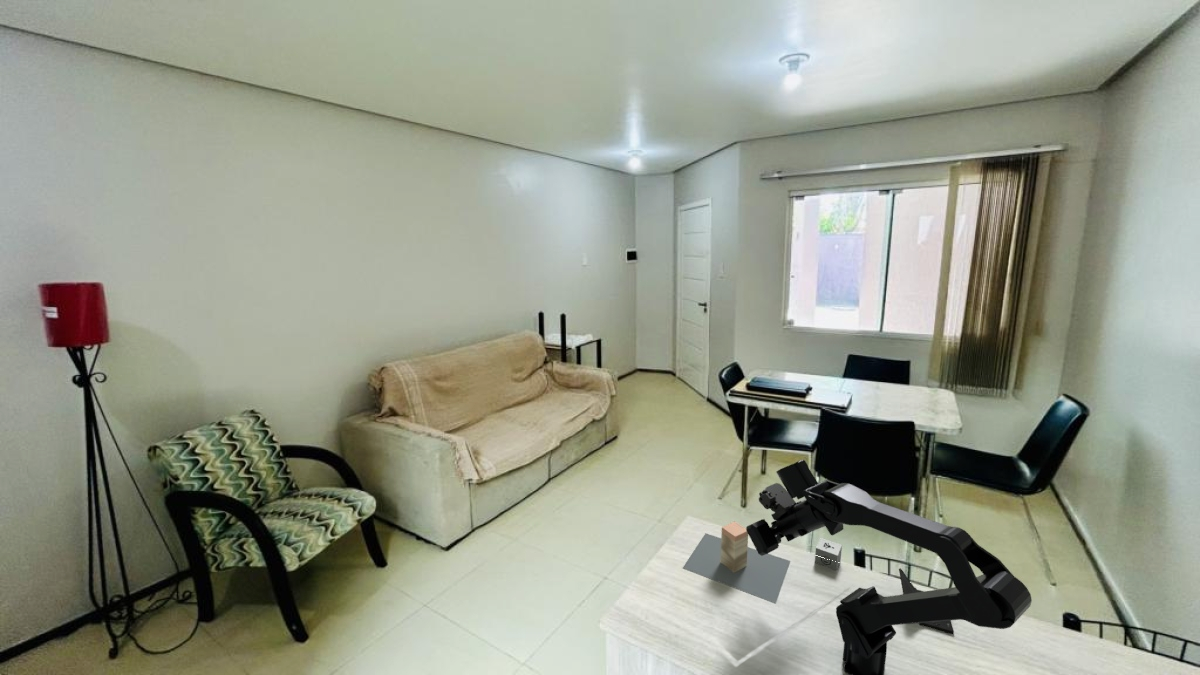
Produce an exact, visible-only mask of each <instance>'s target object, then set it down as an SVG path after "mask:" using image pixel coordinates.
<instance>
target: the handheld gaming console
mask: <svg viewBox="0 0 1200 675" xmlns="http://www.w3.org/2000/svg"><path fill="white" fill-rule="evenodd" d="M898 572H899V577H900V582H901V583H900V584H901V590H902V594H910V593H917V592H924V591H925V590H920V589H918V588H916V586H914V585H913V583H912V582H911V581H910V579H909V578H908V577H907V574H905V572H904V570H903V569H902V568H900V567H899V568H898ZM910 582H911V583H910ZM918 624H919V626H922V627H926V628H929V629H932V630H936V631H938V632H939V631H940V632H942V633H946V634H949V635H954V632H955V631H954V627H953V623H952V620H949V621H937V622H925V623H918Z"/></svg>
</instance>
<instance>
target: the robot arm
mask: <svg viewBox="0 0 1200 675" xmlns="http://www.w3.org/2000/svg"><path fill="white" fill-rule="evenodd" d="M775 473H776V474H777V476H778V478H779V480H780V481H781V483H782V484H781V483H779V482H775V483H773V484H770V485H768V486H766V487H765V489H763V490H762V491H760V492H759V494H758V495H759V497H758V502H759V503H760V504H761V505H762V507H764V509H765V510H771V511H772V512H773V513H771V517H772V519H773V521H772V522H770V525H771V526H770V525H769V523H768V521H766V519H765V518H763V519H760V520H758V521H756V522H753V523H751V524H749V525H747V526H746V528H745V529H746V531H747V533H748V537H749V538H750V540H751V542H752V544H753V546H754V549H755V550H757V552H758V554H760V555H761V556H763V555H765V554H771V552H774V551H775V550H778V549H779V547H780V545H779V544H780V543H782V539H783V538H784V537H785V539H786V541H787V542H791V541H792V540H794V539H797V538H799V537H804V536H806V535H808V534H809V533H811V532H814V531H816V530H819V529H821V528H824V527H825V528H826V530H827V531H828V533H829V535H830V536H835V535H837V534H838V533H840V532H842V531H843V530H844V525H847V526H863V527H868V528H871V529H873V530H875V531H879V532H881V533H884V534H887V535H889V536H891V537H894V538H896V539H899V540H901V541H903V542H906V543H908V544H911V545H914V546H917V547H918V548H919V547H920V548H922V549H925V550H927V551H930V552H932V553H934V554H937V556H938V557H939V558H940V560H942V562H943V563H944V564H945V567H946V569H947V572H948V574H949V576H950V579H951V580H952V582H953V585H954V587H947V588H939V589H932V590H927V591H926V590H923V591H924V592H917V593H910V594H903V593H902V594H897V595H890V596H889V595H888V596H884V595H882V594H879V593H878V591H877V589H876V586H873V585H872V586H871V587H869V588H863V587H858V588H857V589H855V590H854V591H852V592H851V593H850V594H848V595H847V596H845V597H844V598H842V599H841V600H840V601H839V605H837V606H836V608H835V609H836V611H835V614H836V618H837V621H838V625H839V629H840V633H841V637H842V642H843V652H842V661H843V662H844V668H843V669H844V673H846V674H849V675H885V670H886V669H885V668H886V660H887V648H888V646H887V645H888V642H889V641H891V640H892V639H893V638H894V637H895V636H896V635H897V632H896V630H895V628H894V627H893V626H899V625H909V624H911V625H912V624H919V623H925V622H937V621H949V620H951V621H958V620H959V621H961V620H962V621H966V622H968V623H970V624H972V625H975V626H977V627H980V628H990V629H999V630H1006V629H1009V628H1011V627H1012V626H1013V625H1015V623H1016V622H1017V621H1018V620H1019V619H1020V618H1021V617H1022V616H1023V615H1024V614H1025V612H1027V611H1028V609H1029V608H1030V607H1031V604H1032V601H1033V600H1032V595H1031V592H1030V591H1029V588H1028V587H1027V586H1026V585H1025V584H1024V583H1023V582H1022V581H1021V580H1020V579H1019V578H1018V577H1016V576H1014V574H1013V573H1012V571H1010V570H1009V569H1008V568H1007V567H1006V565H1005V564H1004V563H1003V562H1002V561H1001V560H1000V559H999V558H998V557H997V556H995V555H994V554H993V553H991V552H990V551H988V550H987V549H985V548H984V547H982V546H980V545H979V544H978V542H976V541H975V539H973V537H972V536H971V535H970V534H969V533H968V532H967V531H966V530H965V529H964V528H961V527H958V526H949V525H947V524H943V523H940V522H938V521H934V520H931V519H929V518H926V517H922V516H921V515H920V516H919V515H917V514H914V513H911V512H909V511H906V510H902V509H899V508H897V507H895V506H892V505H889V504H886V503H882V502H880V501H878V500H875V499H874V498H873V497H872V496H871V495H870V494H869V493H868V492H867V491H865V490H863V489H861V488H860V487H857V486H855V485H854V484H850V483H847V482H844V483H843V482H841V483H837V482H834V481H831V480H828V479H825V480H823V481H821V482H818V480H817V479H816V477H815V476H814V473H812V471H811V469H810V468H809V465H808V463H807V462H806V459H804V458H803V459H801V460H798V461H797V462H794V463H792V464H789V465H787V466H785V467H782V468H780V469H778V470H777V471H776V472H775ZM795 498H796V499H797V500H799V501H798V502H796V501H795ZM803 498H805V499H803ZM801 499H803V500H801ZM971 564H972V565H973V566H975V567H976V568H978V570H980V572H981V573H982V574H981V575H978V576H977V575H976V574H975V572H974V570H973V567H972V566H971Z"/></svg>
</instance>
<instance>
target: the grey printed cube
mask: <svg viewBox="0 0 1200 675" xmlns="http://www.w3.org/2000/svg"><path fill="white" fill-rule="evenodd" d="M842 549H843V545H842V544H840V543H838V542H833V541H831V540H829V539H825V538H823V537H820V538H819V540H818V543H817V544H816V547H815V553H814V563H816V564H818V565H821V566H823V567H826V568H829V569H832V570H835V571H837V570H838V569H839V566H840V564H841V558H842ZM815 555H818V556H821V557H824V558H825V559H824V558H821V557H818V556H815ZM827 559H828V560H827ZM829 559H830V560H829ZM832 560H833V561H832ZM835 561H836V562H835ZM838 562H840V563H838Z"/></svg>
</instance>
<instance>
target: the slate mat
mask: <svg viewBox="0 0 1200 675" xmlns="http://www.w3.org/2000/svg"><path fill="white" fill-rule="evenodd" d="M790 564H791V560H788V559H785V558H782V557H779V556H776V555H773V554H771V553H768V554H765V555H763V556H761V555H760V554H758V552H757V550H756V548H752V547H749V546H748V549H747V566H746V567H744V568H742V569H740V570H738V571H736V572H732V571H731V570H730V569H729V568H727V567H726V566H725V565H724V564H722V563H721V537H718V536H715V535H712V534H709V533H704V535H703V536H702V538H701V539H700V540H699V542H698V544H697V545H696V547H695V548H694V549H693V552H691V555H689V557H688V559H687V561H686V562H685V563H684V565H683V566H682V569H683V570H686V571H689V572H691V573H694V574H696V575H699V576H702V577H705V578H707V579H710V580H712V581H715V582H718V583H720V584H723V585H725V586H728V587H731V588H734V589H736V590H739V591H742V592H744V593H746V594H749V595H752V596H755V597H757V598H760V599H763V600H765V601H767V602H770V603H773V604H777V601H778V598H779V595H780V592H781V590H782V586H783V584H784V580H785V578H786V575H787V573H788V570H789V566H790Z"/></svg>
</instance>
